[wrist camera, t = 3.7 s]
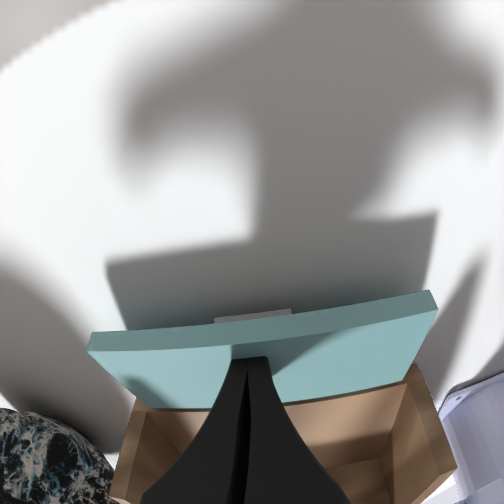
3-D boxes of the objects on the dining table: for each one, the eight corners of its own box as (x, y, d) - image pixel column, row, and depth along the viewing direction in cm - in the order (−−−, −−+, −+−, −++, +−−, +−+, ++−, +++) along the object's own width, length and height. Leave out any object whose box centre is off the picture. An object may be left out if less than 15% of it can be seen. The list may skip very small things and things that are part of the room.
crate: (416, 363, 15) (457, 467, 9) (386, 447, 21) (403, 517, 14) (136, 395, 17) (108, 496, 11) (193, 467, 22) (185, 537, 16)
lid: (395, 357, 15) (424, 279, 11) (401, 380, 14) (438, 309, 10) (152, 385, 17) (94, 323, 12) (150, 407, 16) (86, 351, 11)
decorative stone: (129, 479, 26) (108, 585, 13) (6, 419, 23) (-34, 515, 9) (162, 434, 19) (131, 613, 6) (-21, 339, 16) (-101, 481, 3)
